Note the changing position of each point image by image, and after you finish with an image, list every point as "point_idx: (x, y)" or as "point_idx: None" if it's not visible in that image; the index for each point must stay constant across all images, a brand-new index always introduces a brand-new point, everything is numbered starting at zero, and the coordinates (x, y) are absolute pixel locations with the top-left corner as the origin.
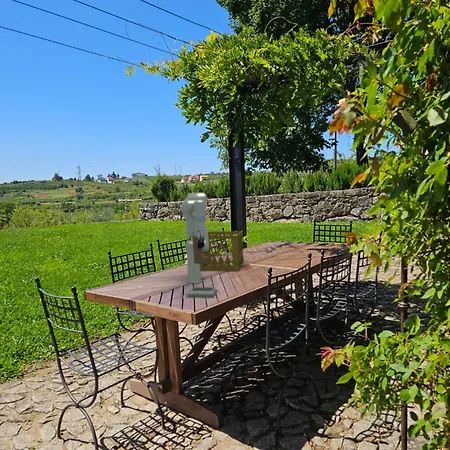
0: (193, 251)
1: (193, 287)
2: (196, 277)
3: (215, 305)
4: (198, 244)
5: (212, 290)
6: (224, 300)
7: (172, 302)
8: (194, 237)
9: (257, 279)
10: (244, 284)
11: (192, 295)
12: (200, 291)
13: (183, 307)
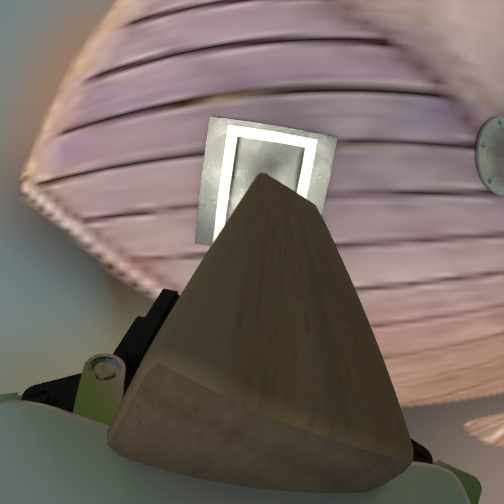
0: (246, 194)
1: (306, 143)
2: (498, 167)
3: (96, 250)
4: (122, 340)
5: None
6: (158, 283)
7: (137, 68)
8: (129, 387)
9: (442, 388)
10: (395, 357)
11: (216, 143)
12: (220, 185)
13: (72, 133)
